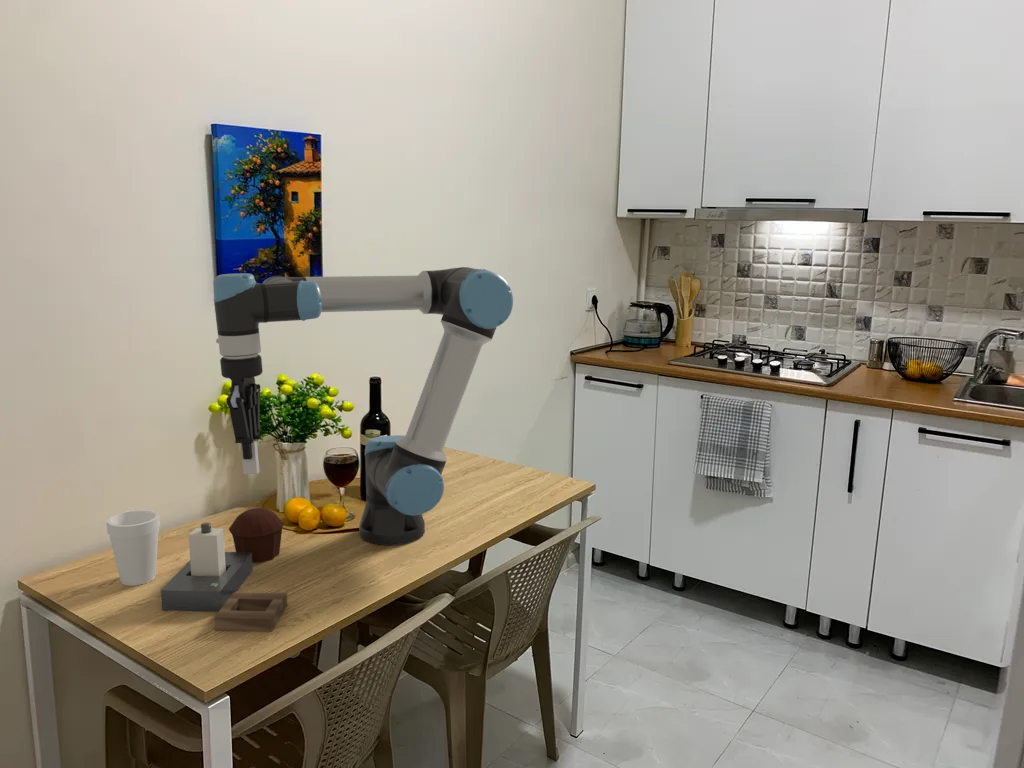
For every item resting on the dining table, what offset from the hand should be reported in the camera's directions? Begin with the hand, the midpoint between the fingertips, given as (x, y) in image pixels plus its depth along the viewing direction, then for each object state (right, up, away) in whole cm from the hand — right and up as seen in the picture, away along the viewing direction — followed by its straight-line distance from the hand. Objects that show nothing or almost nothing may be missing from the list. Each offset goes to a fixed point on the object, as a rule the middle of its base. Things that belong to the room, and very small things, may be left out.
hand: (251, 472), depth 160 cm
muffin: (-4, -20, +16) cm, 26 cm away
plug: (-8, -23, -1) cm, 24 cm away
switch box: (-8, -23, -1) cm, 24 cm away
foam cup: (-24, -22, +4) cm, 33 cm away
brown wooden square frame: (+4, -25, -12) cm, 28 cm away
